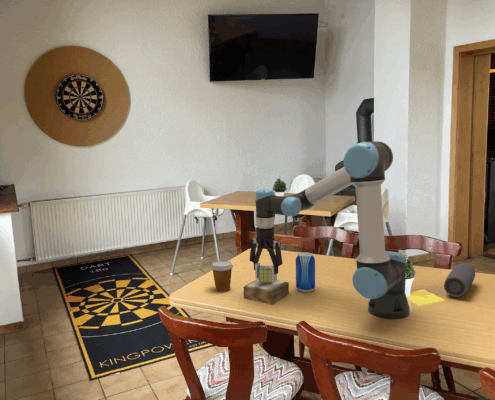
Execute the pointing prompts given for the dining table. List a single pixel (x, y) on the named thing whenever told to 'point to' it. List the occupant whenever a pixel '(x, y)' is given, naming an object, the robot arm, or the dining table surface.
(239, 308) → the dining table surface
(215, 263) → the disposable coffee cup
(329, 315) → the dining table surface
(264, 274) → the puzzle toy
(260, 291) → the pedestal
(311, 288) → the beer can
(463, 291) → the bluetooth speaker
